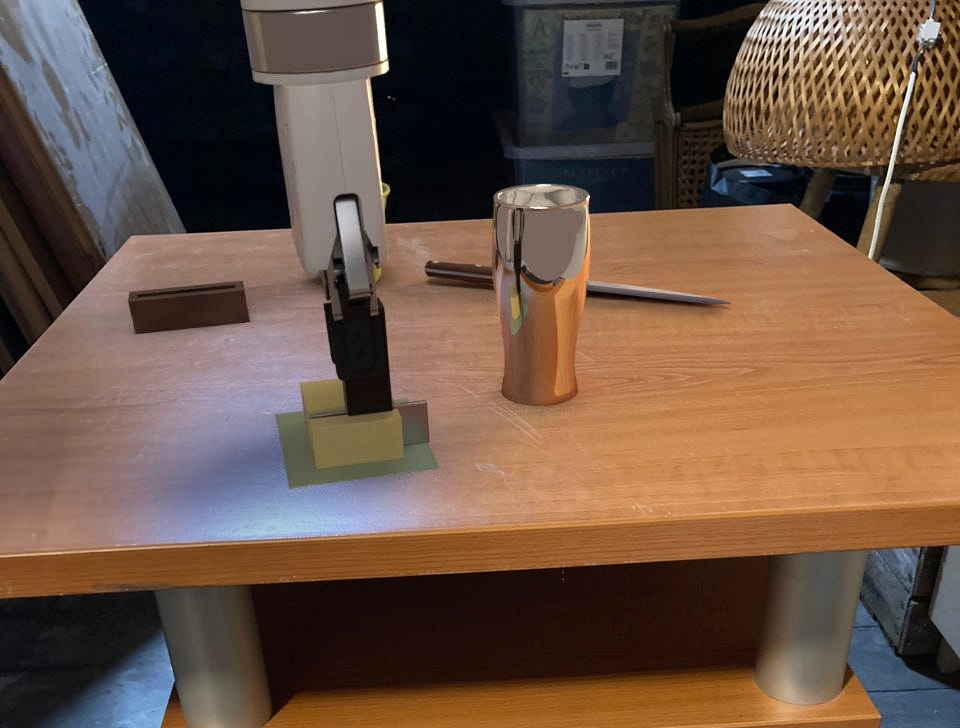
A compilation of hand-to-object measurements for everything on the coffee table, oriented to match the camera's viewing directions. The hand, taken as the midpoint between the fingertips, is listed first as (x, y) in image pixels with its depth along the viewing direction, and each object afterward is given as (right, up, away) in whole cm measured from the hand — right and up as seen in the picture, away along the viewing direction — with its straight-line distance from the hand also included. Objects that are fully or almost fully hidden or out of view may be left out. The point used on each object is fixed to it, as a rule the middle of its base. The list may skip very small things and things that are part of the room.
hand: (358, 366), depth 65 cm
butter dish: (-1, -5, +6) cm, 7 cm away
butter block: (-1, -3, +6) cm, 7 cm away
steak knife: (+17, +16, +32) cm, 40 cm away
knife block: (-19, +12, +28) cm, 36 cm away
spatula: (0, -5, +4) cm, 6 cm away
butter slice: (0, -6, +2) cm, 6 cm away
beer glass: (+13, 0, +12) cm, 17 cm away
